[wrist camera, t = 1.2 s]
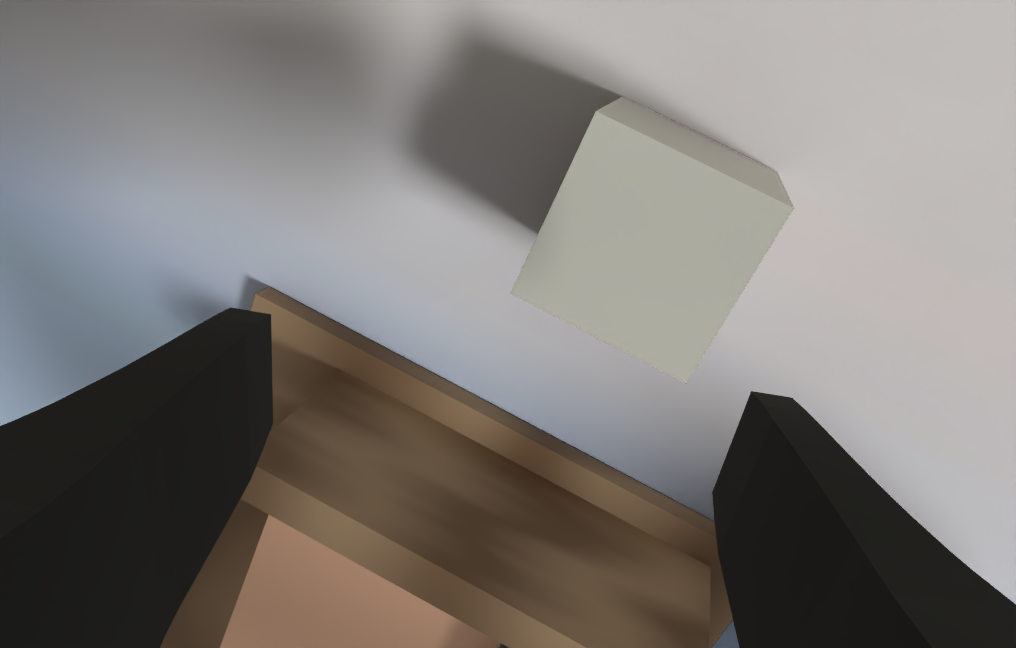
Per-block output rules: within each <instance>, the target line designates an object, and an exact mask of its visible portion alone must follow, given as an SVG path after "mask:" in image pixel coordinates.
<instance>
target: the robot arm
mask: <svg viewBox="0 0 1016 648" xmlns="http://www.w3.org/2000/svg"><path fill="white" fill-rule="evenodd" d="M272 424H273V386H272V334H271V314H267V313H261V312H254V311H248V310H242V309H236V308H229V309H227V310H225V311H223V312H221V313H219V314H217V315H215V316H213V317H211V318H210V319H208V320H206V321H204V322H203V323H201V324H199V325H197V326H196V327H194V328H192V329H190V330H189V331H187V332H185V333H184V334H182V335H180V336H178V337H177V338H175V339H173V340H171V341H170V342H168V343H166V344H164V345H163V346H161V347H159V348H157V349H156V350H154V351H152V352H150V353H148V354H147V355H145V356H143V357H141V358H140V359H138V360H136V361H134V362H132V363H131V364H129V365H127V366H125V367H123V368H122V369H120V370H118V371H116V372H114V373H112V374H110V375H108V376H106V377H104V378H102V379H100V380H98V381H96V382H94V383H92V384H90V385H88V386H86V387H84V388H82V389H80V390H78V391H76V392H74V393H72V394H70V395H68V396H66V397H64V398H62V399H60V400H59V401H57V402H55V403H52V404H50V405H48V406H46V407H44V408H41V409H39V410H37V411H35V412H33V413H30V414H28V415H26V416H23V417H21V418H19V419H17V420H14V421H12V422H9V423H7V424H4V425H2V426H0V648H160V647H161V644H162V642H163V640H164V637H165V635H166V633H167V631H168V629H169V627H170V625H171V623H172V621H173V619H174V617H175V615H176V613H177V611H178V609H179V607H180V605H181V604H182V602H183V600H184V598H185V597H186V595H187V593H188V591H189V589H190V588H191V586H192V584H193V582H194V581H195V579H196V577H197V575H198V574H199V572H200V570H201V568H202V566H203V565H204V563H205V561H206V559H207V558H208V556H209V554H210V552H211V550H212V549H213V547H214V545H215V543H216V542H217V540H218V538H219V536H220V534H221V533H222V531H223V529H224V527H225V526H226V524H227V522H228V520H229V518H230V517H231V515H232V513H233V511H234V509H235V508H236V506H237V504H238V502H239V500H240V499H241V497H242V495H243V493H244V491H245V489H246V488H247V486H248V484H249V482H250V480H251V478H252V476H253V473H254V471H255V468H256V466H257V463H258V461H259V458H260V456H261V453H262V451H263V448H264V446H265V443H266V440H267V438H268V435H269V432H270V430H271V427H272ZM712 493H713V506H714V519H715V530H716V540H717V549H718V556H719V560H720V565H721V570H722V574H723V578H724V583H725V587H726V591H727V596H728V600H729V604H730V609H731V613H732V617H733V621H734V626H735V630H736V634H737V638H738V642H739V647H740V648H1016V604H1014V603H1013V602H1012V601H1010V600H1009V599H1008V598H1007V597H1005V596H1004V595H1003V594H1002V593H1000V592H999V591H998V590H997V589H995V588H994V587H993V586H992V585H990V584H989V583H988V582H987V581H985V580H984V579H983V578H981V577H980V576H979V575H978V574H976V573H975V572H974V571H973V570H971V569H970V568H969V567H968V566H967V565H966V564H964V563H963V562H962V561H961V560H960V559H958V558H957V557H956V556H955V555H954V554H953V553H951V552H950V551H949V550H948V549H947V548H946V547H945V546H944V545H942V544H941V543H940V542H939V541H938V540H937V539H936V538H935V537H934V536H932V535H931V534H930V533H929V532H928V531H927V530H926V529H925V528H924V527H923V526H921V525H920V524H919V523H918V522H917V521H916V520H915V519H914V518H913V517H912V516H911V515H909V514H908V513H907V512H906V511H905V510H904V509H903V508H902V507H901V506H900V505H899V504H898V503H897V502H896V501H895V500H894V499H893V498H892V497H891V496H890V495H889V494H888V493H887V492H886V491H885V490H884V489H883V488H881V487H880V486H879V485H878V484H877V483H876V482H875V481H874V480H873V479H872V478H871V477H870V476H869V475H868V474H867V473H866V471H865V470H864V469H863V468H862V467H861V466H860V465H859V464H858V463H857V462H856V461H855V460H854V459H853V458H852V457H851V456H850V455H849V454H848V453H847V452H846V451H845V450H844V449H843V448H842V447H841V446H840V445H839V444H838V443H837V442H836V441H835V440H834V439H833V438H832V437H831V436H830V435H829V433H828V432H827V431H826V430H825V429H824V428H823V427H822V426H821V425H820V424H819V423H818V422H817V421H816V420H815V419H814V418H813V417H812V416H811V415H810V414H809V413H808V412H807V411H806V410H805V409H804V408H803V407H802V406H800V405H799V404H798V403H797V402H796V401H795V400H794V399H793V398H790V397H784V396H778V395H771V394H765V393H759V392H753V391H751V394H750V396H749V399H748V401H747V404H746V406H745V409H744V412H743V414H742V417H741V419H740V422H739V425H738V427H737V430H736V432H735V435H734V438H733V440H732V443H731V445H730V448H729V451H728V453H727V456H726V458H725V461H724V464H723V466H722V469H721V471H720V474H719V477H718V479H717V482H716V484H715V487H714V489H713V492H712Z"/></svg>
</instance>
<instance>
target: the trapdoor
mask: <svg viewBox="0 0 1016 648" xmlns="http://www.w3.org/2000/svg"><path fill="white" fill-rule="evenodd" d="M220 648H508V647H507V646H505V645H503V644H501V643H499V642H498V641H496V640H494V639H492V638H490V637H489V636H487V635H485V634H483V633H481V632H480V631H478V630H476V629H474V628H472V627H471V626H469V625H467V624H465V623H463V622H462V621H460V620H458V619H456V618H454V617H453V616H451V615H449V614H447V613H445V612H444V611H442V610H440V609H438V608H436V607H435V606H433V605H431V604H429V603H427V602H425V601H424V600H422V599H420V598H418V597H416V596H415V595H413V594H411V593H409V592H407V591H406V590H404V589H402V588H400V587H398V586H397V585H395V584H393V583H391V582H389V581H388V580H386V579H384V578H382V577H380V576H379V575H377V574H375V573H373V572H371V571H370V570H368V569H366V568H364V567H362V566H361V565H359V564H357V563H355V562H353V561H352V560H350V559H348V558H346V557H344V556H343V555H341V554H339V553H337V552H335V551H333V550H332V549H330V548H328V547H326V546H324V545H323V544H321V543H319V542H317V541H315V540H314V539H312V538H310V537H308V536H306V535H305V534H303V533H301V532H299V531H297V530H296V529H294V528H292V527H290V526H288V525H287V524H285V523H283V522H281V521H279V520H278V519H276V518H274V517H272V516H270V515H268V518H267V521H266V524H265V526H264V529H263V532H262V534H261V537H260V540H259V543H258V545H257V548H256V551H255V553H254V556H253V559H252V562H251V564H250V567H249V570H248V573H247V575H246V578H245V581H244V583H243V586H242V589H241V592H240V594H239V597H238V600H237V602H236V605H235V608H234V611H233V613H232V616H231V619H230V621H229V624H228V627H227V630H226V632H225V635H224V638H223V641H222V643H221V646H220Z"/></svg>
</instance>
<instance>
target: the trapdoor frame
mask: <svg viewBox="0 0 1016 648" xmlns="http://www.w3.org/2000/svg"><path fill="white" fill-rule="evenodd" d="M250 311H254V312H261V313H267V314H271V334H272V386H273V424H272V427H271V430H270V432H269V435H268V438H267V440H266V443H265V446H264V448H263V451H262V453H261V456H260V458H259V461H258V463H257V466H256V468H255V471H254V473H253V476H252V478H251V480H250V482H249V484H248V486H247V488H246V489H245V491H244V493H243V495H242V497H241V499H240V500H239V502H238V504H237V506H236V508H235V509H234V511H233V513H232V515H231V517H230V518H229V520H228V522H227V524H226V526H225V527H224V529H223V531H222V533H221V534H220V536H219V538H218V540H217V542H216V543H215V545H214V547H213V549H212V550H211V552H210V554H209V556H208V558H207V559H206V561H205V563H204V565H203V566H202V568H201V570H200V572H199V574H198V575H197V577H196V579H195V581H194V582H193V584H192V586H191V588H190V589H189V591H188V593H187V595H186V597H185V598H184V600H183V602H182V604H181V605H180V607H179V609H178V611H177V613H176V615H175V617H174V619H173V621H172V623H171V625H170V627H169V629H168V631H167V633H166V635H165V637H164V640H163V642H162V644H161V647H160V648H220V646H221V643H222V641H223V638H224V635H225V632H226V630H227V627H228V624H229V621H230V619H231V616H232V613H233V611H234V608H235V605H236V602H237V600H238V597H239V594H240V592H241V589H242V586H243V583H244V581H245V578H246V575H247V573H248V570H249V567H250V564H251V562H252V559H253V556H254V553H255V551H256V548H257V545H258V543H259V540H260V537H261V534H262V532H263V529H264V526H265V524H266V521H267V518H268V515H270V516H272V517H274V518H276V519H278V520H279V521H281V522H283V523H285V524H287V525H288V526H290V527H292V528H294V529H296V530H297V531H299V532H301V533H303V534H305V535H306V536H308V537H310V538H312V539H314V540H315V541H317V542H319V543H321V544H323V545H324V546H326V547H328V548H330V549H332V550H333V551H335V552H337V553H339V554H341V555H343V556H344V557H346V558H348V559H350V560H352V561H353V562H355V563H357V564H359V565H361V566H362V567H364V568H366V569H368V570H370V571H371V572H373V573H375V574H377V575H379V576H380V577H382V578H384V579H386V580H388V581H389V582H391V583H393V584H395V585H397V586H398V587H400V588H402V589H404V590H406V591H407V592H409V593H411V594H413V595H415V596H416V597H418V598H420V599H422V600H424V601H425V602H427V603H429V604H431V605H433V606H435V607H436V608H438V609H440V610H442V611H444V612H445V613H447V614H449V615H451V616H453V617H454V618H456V619H458V620H460V621H462V622H463V623H465V624H467V625H469V626H471V627H472V628H474V629H476V630H478V631H480V632H481V633H483V634H485V635H487V636H489V637H490V638H492V639H494V640H496V641H498V642H499V643H501V644H503V645H505V646H507V647H508V648H712V646H713V645H714V644H715V643H716V641H717V640H718V639H719V637H720V636H721V635H722V633H723V632H724V631H725V629H726V628H727V627H728V626H729V624H730V623H731V622H732V620H733V617H732V613H731V609H730V604H729V600H728V596H727V591H726V587H725V583H724V578H723V574H722V570H721V565H720V560H719V556H718V549H717V540H716V530H715V522H714V521H712V520H710V519H708V518H706V517H704V516H702V515H700V514H699V513H697V512H695V511H693V510H691V509H689V508H687V507H685V506H683V505H682V504H680V503H678V502H676V501H674V500H672V499H670V498H668V497H666V496H664V495H663V494H661V493H659V492H657V491H655V490H653V489H651V488H649V487H647V486H646V485H644V484H642V483H640V482H638V481H636V480H634V479H632V478H630V477H629V476H627V475H625V474H623V473H621V472H619V471H617V470H615V469H613V468H612V467H610V466H608V465H606V464H604V463H602V462H600V461H598V460H596V459H594V458H593V457H591V456H589V455H587V454H585V453H583V452H581V451H579V450H577V449H576V448H574V447H572V446H570V445H568V444H566V443H564V442H562V441H560V440H559V439H557V438H555V437H553V436H551V435H549V434H547V433H545V432H543V431H541V430H540V429H538V428H536V427H534V426H532V425H530V424H528V423H526V422H524V421H523V420H521V419H519V418H517V417H515V416H513V415H511V414H509V413H507V412H506V411H504V410H502V409H500V408H498V407H496V406H494V405H492V404H490V403H488V402H487V401H485V400H483V399H481V398H479V397H477V396H475V395H473V394H471V393H470V392H468V391H466V390H464V389H462V388H460V387H458V386H456V385H454V384H453V383H451V382H449V381H447V380H445V379H443V378H441V377H439V376H437V375H436V374H434V373H432V372H430V371H428V370H426V369H424V368H422V367H420V366H418V365H417V364H415V363H413V362H411V361H409V360H407V359H405V358H403V357H401V356H400V355H398V354H396V353H394V352H392V351H390V350H388V349H386V348H384V347H383V346H381V345H379V344H377V343H375V342H373V341H371V340H369V339H367V338H365V337H364V336H362V335H360V334H358V333H356V332H354V331H352V330H350V329H348V328H347V327H345V326H343V325H341V324H339V323H337V322H335V321H333V320H331V319H330V318H328V317H326V316H324V315H322V314H320V313H318V312H316V311H314V310H313V309H311V308H309V307H307V306H305V305H303V304H301V303H299V302H297V301H295V300H294V299H292V298H290V297H288V296H286V295H284V294H282V293H280V292H278V291H277V290H275V289H273V288H271V287H267V288H265V289H263V290H261V291H260V292H258V293H256V294H255V297H254V300H253V303H252V307H251V310H250Z"/></svg>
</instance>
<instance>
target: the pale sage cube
mask: <svg viewBox="0 0 1016 648" xmlns="http://www.w3.org/2000/svg"><path fill="white" fill-rule="evenodd" d="M793 209H794V207H793V205H792V203H791V200H790V198H789V196H788V194H787V192H786V190H785V187H784V185H783V183H782V181H781V179H780V177H779V174H778V172H777V171H775V170H773V169H771V168H769V167H767V166H765V165H763V164H761V163H759V162H757V161H755V160H753V159H750V158H748V157H746V156H744V155H742V154H740V153H738V152H736V151H734V150H732V149H730V148H728V147H726V146H724V145H722V144H720V143H718V142H716V141H714V140H711V139H709V138H707V137H705V136H703V135H701V134H699V133H697V132H695V131H693V130H691V129H689V128H687V127H685V126H683V125H681V124H679V123H677V122H675V121H673V120H670V119H668V118H666V117H664V116H662V115H660V114H658V113H656V112H654V111H652V110H650V109H648V108H646V107H644V106H642V105H640V104H638V103H636V102H634V101H631V100H629V99H627V98H625V97H623V96H622V97H621V98H619V99H617V100H615V101H613V102H611V103H610V104H608V105H606V106H604V107H602V108H600V109H599V110H597V111H596V112H595V114H594V116H593V118H592V120H591V123H590V125H589V127H588V129H587V131H586V133H585V135H584V137H583V140H582V142H581V144H580V146H579V148H578V150H577V152H576V154H575V157H574V159H573V161H572V163H571V165H570V167H569V169H568V172H567V174H566V176H565V178H564V180H563V182H562V184H561V186H560V189H559V191H558V193H557V195H556V197H555V199H554V201H553V204H552V206H551V208H550V210H549V212H548V214H547V216H546V218H545V221H544V223H543V225H542V227H541V229H540V231H539V233H538V235H537V238H536V240H535V242H534V244H533V246H532V248H531V250H530V253H529V255H528V257H527V259H526V261H525V263H524V265H523V267H522V270H521V272H520V274H519V276H518V278H517V280H516V282H515V285H514V287H513V289H512V291H511V293H510V294H512V295H514V296H516V297H518V298H520V299H522V300H524V301H526V302H528V303H530V304H532V305H534V306H536V307H538V308H540V309H542V310H543V311H545V312H547V313H549V314H551V315H553V316H555V317H557V318H559V319H561V320H563V321H565V322H567V323H569V324H571V325H573V326H575V327H576V328H578V329H580V330H582V331H584V332H586V333H588V334H590V335H592V336H594V337H596V338H598V339H600V340H602V341H604V342H606V343H608V344H609V345H611V346H613V347H615V348H617V349H619V350H621V351H623V352H625V353H627V354H629V355H631V356H633V357H635V358H637V359H639V360H641V361H643V362H644V363H646V364H648V365H650V366H652V367H654V368H656V369H658V370H660V371H662V372H664V373H666V374H668V375H670V376H672V377H674V378H676V379H677V380H679V381H681V382H683V383H685V384H686V383H687V382H688V380H689V378H690V377H691V375H692V373H693V372H694V370H695V369H696V367H697V365H698V364H699V362H700V360H701V359H702V357H703V356H704V354H705V352H706V351H707V349H708V347H709V346H710V344H711V343H712V341H713V339H714V338H715V336H716V334H717V333H718V331H719V330H720V328H721V326H722V325H723V323H724V321H725V320H726V318H727V317H728V315H729V313H730V312H731V310H732V308H733V307H734V305H735V304H736V302H737V300H738V299H739V297H740V295H741V294H742V292H743V290H744V289H745V287H746V286H747V284H748V282H749V281H750V279H751V277H752V276H753V274H754V273H755V271H756V269H757V268H758V266H759V264H760V263H761V261H762V260H763V258H764V256H765V255H766V253H767V251H768V250H769V248H770V247H771V245H772V243H773V242H774V240H775V238H776V237H777V235H778V234H779V232H780V230H781V229H782V227H783V225H784V224H785V222H786V221H787V219H788V217H789V216H790V214H791V212H792V211H793Z"/></svg>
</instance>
